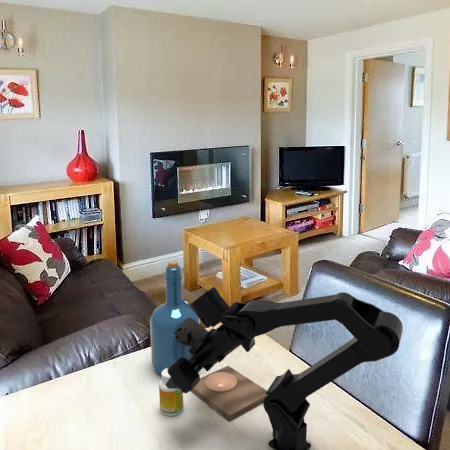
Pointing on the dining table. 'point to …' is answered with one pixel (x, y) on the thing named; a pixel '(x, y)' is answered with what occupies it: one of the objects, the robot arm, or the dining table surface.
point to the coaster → (221, 382)
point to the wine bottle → (170, 322)
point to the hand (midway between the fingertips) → (178, 375)
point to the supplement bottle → (169, 397)
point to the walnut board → (231, 395)
